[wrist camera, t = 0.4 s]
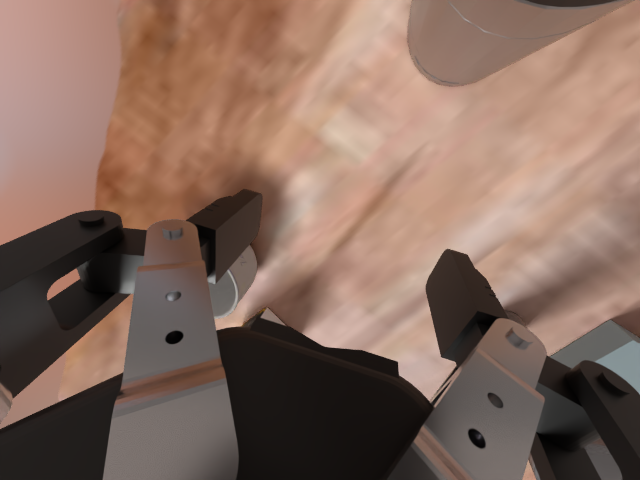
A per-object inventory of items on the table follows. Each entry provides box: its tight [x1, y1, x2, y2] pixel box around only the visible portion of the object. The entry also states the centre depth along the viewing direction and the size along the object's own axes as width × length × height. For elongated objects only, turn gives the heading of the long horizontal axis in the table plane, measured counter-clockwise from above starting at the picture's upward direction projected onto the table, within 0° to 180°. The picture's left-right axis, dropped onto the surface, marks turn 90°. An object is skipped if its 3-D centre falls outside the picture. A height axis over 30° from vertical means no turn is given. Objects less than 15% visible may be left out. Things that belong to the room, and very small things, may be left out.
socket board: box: [550, 320, 640, 394], centre depth 30 cm, size 18×18×3 cm
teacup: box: [208, 245, 257, 319], centre depth 33 cm, size 14×11×8 cm
